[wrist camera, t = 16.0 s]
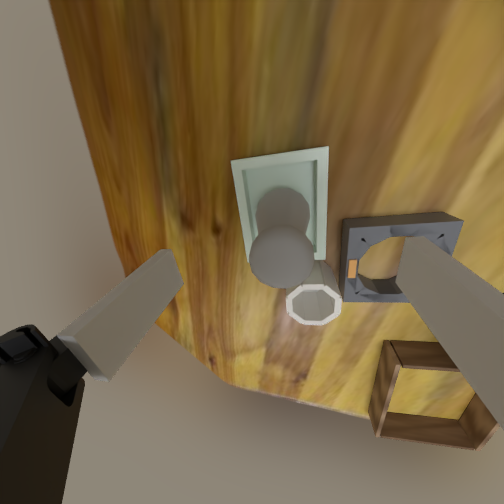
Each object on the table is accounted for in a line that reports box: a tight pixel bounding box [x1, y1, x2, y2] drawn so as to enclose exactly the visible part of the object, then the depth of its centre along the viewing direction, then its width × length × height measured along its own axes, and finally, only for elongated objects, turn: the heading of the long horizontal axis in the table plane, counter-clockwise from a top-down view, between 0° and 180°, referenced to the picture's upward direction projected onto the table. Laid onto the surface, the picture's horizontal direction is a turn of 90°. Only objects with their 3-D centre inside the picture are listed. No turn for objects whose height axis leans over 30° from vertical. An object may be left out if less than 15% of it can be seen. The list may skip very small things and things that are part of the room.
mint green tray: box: [231, 146, 329, 262], centre depth 23 cm, size 12×10×2 cm
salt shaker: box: [249, 188, 315, 289], centre depth 18 cm, size 6×6×13 cm
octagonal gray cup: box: [286, 260, 342, 325], centre depth 25 cm, size 6×6×6 cm
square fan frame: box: [339, 212, 464, 303], centre depth 23 cm, size 10×10×3 cm
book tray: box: [368, 340, 500, 451], centre depth 32 cm, size 21×16×4 cm
